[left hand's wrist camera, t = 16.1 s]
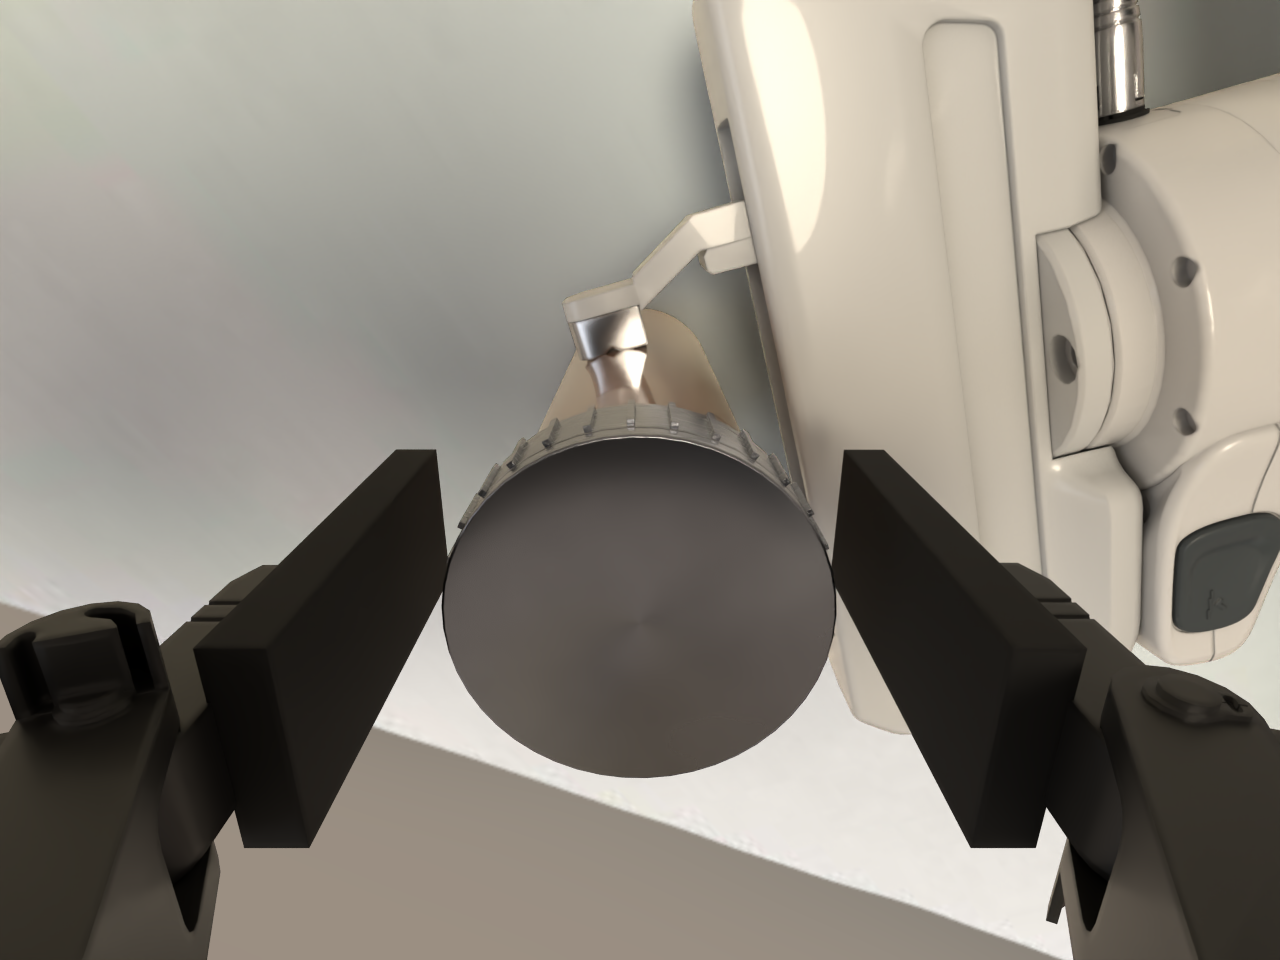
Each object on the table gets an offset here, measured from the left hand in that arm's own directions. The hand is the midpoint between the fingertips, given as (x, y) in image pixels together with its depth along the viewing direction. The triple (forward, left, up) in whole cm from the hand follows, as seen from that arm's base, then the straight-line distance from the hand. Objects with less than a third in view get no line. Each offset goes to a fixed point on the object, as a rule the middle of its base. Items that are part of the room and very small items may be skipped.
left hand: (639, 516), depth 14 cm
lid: (0, 0, +4) cm, 4 cm away
